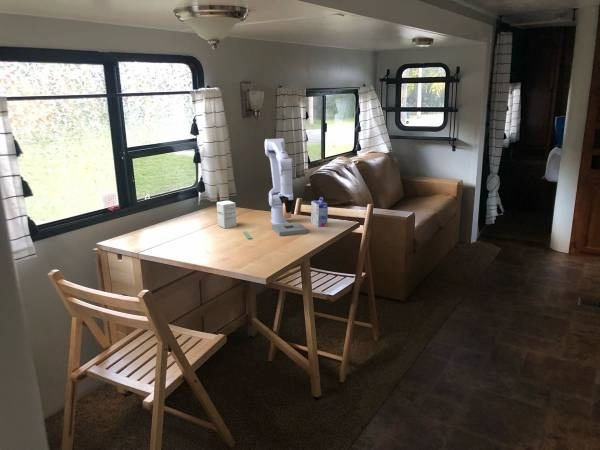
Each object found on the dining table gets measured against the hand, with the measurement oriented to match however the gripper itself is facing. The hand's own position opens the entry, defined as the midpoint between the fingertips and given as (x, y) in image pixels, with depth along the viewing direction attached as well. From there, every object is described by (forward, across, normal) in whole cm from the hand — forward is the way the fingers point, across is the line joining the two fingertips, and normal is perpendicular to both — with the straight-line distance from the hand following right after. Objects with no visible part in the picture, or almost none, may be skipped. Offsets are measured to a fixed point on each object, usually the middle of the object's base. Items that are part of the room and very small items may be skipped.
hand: (287, 211), depth 239 cm
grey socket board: (+10, 0, +1) cm, 10 cm away
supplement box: (+11, -22, -26) cm, 36 cm away
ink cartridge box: (+11, -6, +19) cm, 23 cm away
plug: (+3, 0, 0) cm, 3 cm away
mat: (+10, -1, -15) cm, 18 cm away
